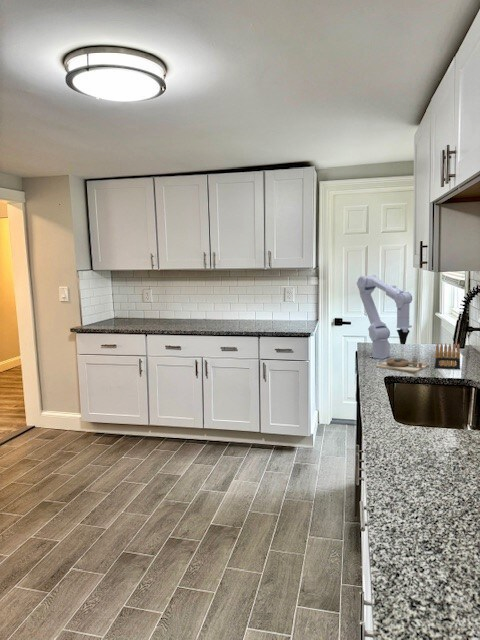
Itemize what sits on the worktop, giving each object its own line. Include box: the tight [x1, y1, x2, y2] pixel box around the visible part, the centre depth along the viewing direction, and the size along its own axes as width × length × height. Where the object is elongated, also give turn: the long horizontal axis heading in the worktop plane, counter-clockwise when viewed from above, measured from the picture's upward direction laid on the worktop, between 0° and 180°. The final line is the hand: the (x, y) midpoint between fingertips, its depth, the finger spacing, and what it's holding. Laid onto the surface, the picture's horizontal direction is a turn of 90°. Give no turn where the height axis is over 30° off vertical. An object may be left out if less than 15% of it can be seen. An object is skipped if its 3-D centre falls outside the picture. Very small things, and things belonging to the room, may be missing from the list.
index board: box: [375, 360, 430, 374], centre depth 213 cm, size 16×19×3 cm
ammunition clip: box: [434, 342, 461, 370], centre depth 206 cm, size 11×2×12 cm, turn 71°
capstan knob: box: [386, 356, 418, 367], centre depth 212 cm, size 14×10×4 cm
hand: (402, 344), depth 220 cm, fingers closed
